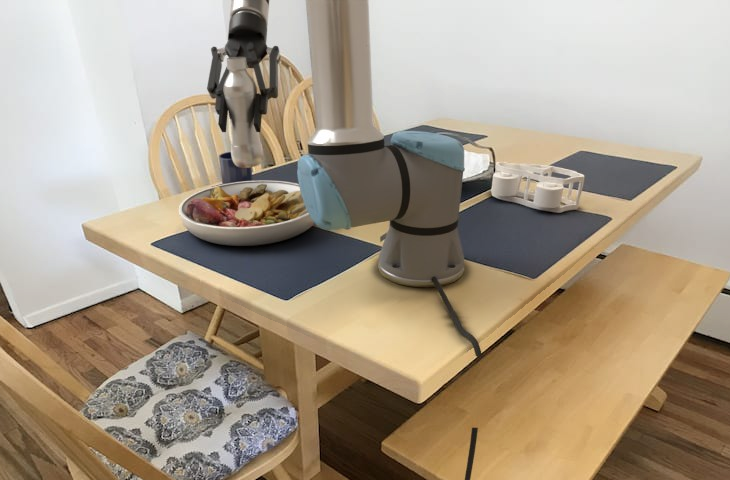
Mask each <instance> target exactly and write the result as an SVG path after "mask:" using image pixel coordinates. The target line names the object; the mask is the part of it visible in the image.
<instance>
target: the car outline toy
mask: <svg viewBox="0 0 730 480" xmlns="http://www.w3.org/2000/svg"><path fill="white" fill-rule="evenodd" d="M494 166H495V167H494V169H495V171H494V173H493V175H492V180H491V181H492V182H491V190H490V193H491V196H492V197H494V198H496V199H498V200H501V201H506V202H512V203H516V204H520V205H523V206H525V207H528V208H532V209H536V210H539V211H545V212H552V213H558V214H560V213H563V212H567V211H574V210H575V211H576V210H578V208H579V206H580V202H581V196H582V192H583V188H584V183H585V175H584V174H583V173H579V172H578V171H576V170H572V169H567V168H563V167H560V166H554V165H547V164H546V165H545V164H539V163H538V164H533V163H512V162H506V161H496V162H495V165H494ZM552 173H556V174H561V175H565V176H569V177H566V178H562V177H555V176H552V175H553V174H552ZM546 174H547V175H546ZM523 177H524V178H526V183H525V189H524V190H523V189H521V186H522V180H523ZM531 180H535V181H538V182H536V186H535V190H530V187H531ZM575 183H579V184H578V187H577V188H578V189H577V193H576V197H575V201H574V200H572V199H571V197H572V191H573V187H574V184H575ZM564 185H568V189H567V193H566V197H565V196H563V192H564V187H565V186H564ZM561 203H563V204H565V205H562V206H561Z"/></svg>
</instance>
